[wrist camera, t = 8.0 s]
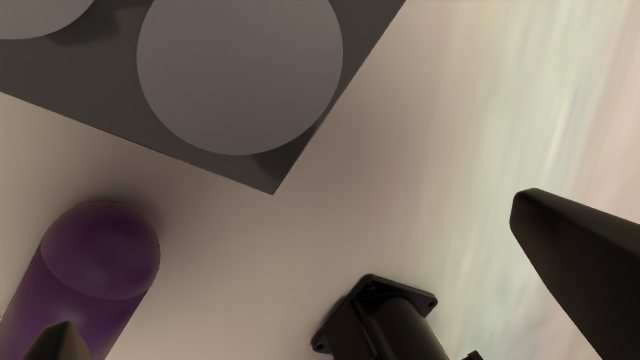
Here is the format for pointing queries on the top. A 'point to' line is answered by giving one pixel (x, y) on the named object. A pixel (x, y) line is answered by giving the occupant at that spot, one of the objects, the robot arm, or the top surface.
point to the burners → (220, 64)
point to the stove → (126, 92)
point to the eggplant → (84, 278)
